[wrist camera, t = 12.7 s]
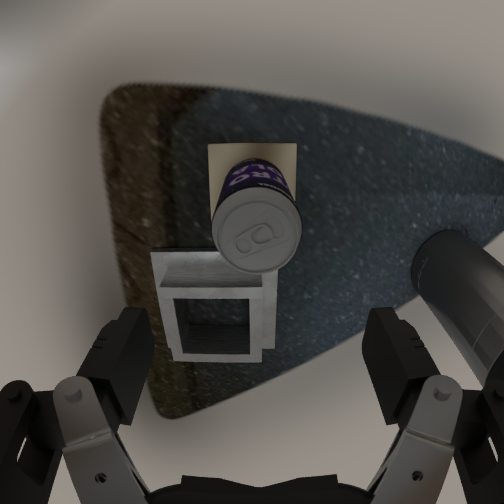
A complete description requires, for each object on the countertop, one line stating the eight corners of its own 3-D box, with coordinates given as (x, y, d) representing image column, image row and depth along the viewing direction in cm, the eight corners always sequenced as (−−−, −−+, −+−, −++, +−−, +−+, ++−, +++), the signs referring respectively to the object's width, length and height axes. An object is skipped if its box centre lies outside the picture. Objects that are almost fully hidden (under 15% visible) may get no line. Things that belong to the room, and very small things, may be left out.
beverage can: (296, 196, 30) (321, 252, 19) (245, 225, 31) (242, 294, 20) (265, 145, 28) (274, 172, 17) (212, 177, 29) (189, 224, 18)
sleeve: (277, 246, 33) (282, 270, 28) (273, 343, 39) (276, 372, 34) (152, 248, 33) (139, 271, 28) (169, 342, 38) (162, 370, 34)
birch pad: (295, 143, 28) (296, 144, 28) (293, 223, 32) (294, 225, 31) (208, 143, 28) (207, 144, 28) (212, 224, 32) (211, 226, 31)
